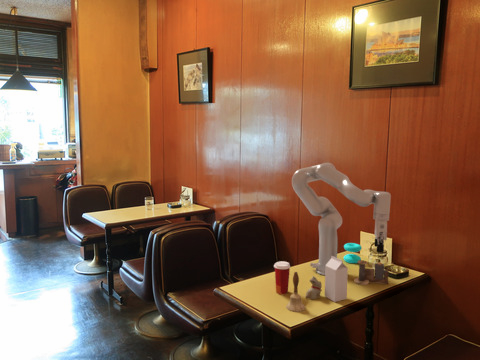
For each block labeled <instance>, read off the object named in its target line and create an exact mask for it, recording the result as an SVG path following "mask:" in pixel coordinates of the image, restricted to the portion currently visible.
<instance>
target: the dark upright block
mask: <svg viewBox="0 0 480 360" xmlns="http://www.w3.org/2000/svg"><path fill="white" fill-rule="evenodd" d="M374 270H375V272H374V276H375V279H384V270H385V265H384V263H382V262H379V261H378V262H375V264H374Z"/></svg>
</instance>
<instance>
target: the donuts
mask: <svg viewBox="0 0 480 360" xmlns="http://www.w3.org/2000/svg"><path fill="white" fill-rule="evenodd" d="M343 248H344V250H345V251H347V252H350V253H347V254H345V255H344V256H343V260H344V261H343V262H346V263H349V264H358V261H359V260H362V258H361V256H360V255H358V254H355V253H358V252H360V251H362V245H360V244H358V243H355V242H347V243H344V245H343Z"/></svg>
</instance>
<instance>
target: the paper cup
mask: <svg viewBox="0 0 480 360" xmlns="http://www.w3.org/2000/svg"><path fill="white" fill-rule="evenodd" d="M273 268H274V277H275V282H274V283H275V292H276V294H278V295H286V294H288V292H289V283H290V281H289V280H290V269H291V265H290V262H287V261H284V260H283V261H280V260H279V261H277V262H275V263H274V264H273Z"/></svg>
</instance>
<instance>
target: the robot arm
mask: <svg viewBox="0 0 480 360" xmlns="http://www.w3.org/2000/svg"><path fill="white" fill-rule="evenodd" d="M315 181H323V182H325V183H326V184H328V185H330V186H331V187H332V188H335V189H336V190H337V191H338V192H339V193H341V195H343V196H344V197H346V198H347V199H348V200H349V201H351V202H352V203H354V204H356V205H357V206H359V207H369V206H370V205H372V204H373V216H372V219H373V220H375V221H374V247H376V253H380V254H383V253H384V249H385V241H387V240H388V239H387V237H388V236H387V235H388V221H390V212H391V210H390V209H391V208H390V207H391V202H392V201H391V198H392V195H391V193H390V192H388V191H378V190H373V189H369V188H368V189H364V190H363V189H361V188H359V187H358V186H356V185H354V184H353V182H351V180H350V178H349V177H348V175H346V174H345V173H343V172H341V171H340V170H337V168H336V167H335V165H334V164H333V163H331V162H323V163H320V164H316V165H311V166H308V167H303V168H299V169H297V170H296V171H295V172H294V173H293V175H292V177H291V186H292V188H293V191H294V192H295V194H296V195H297V197H298V198H299V199H300V200H301V202H302V203H303V204H304V206H305V207H306V209H307V210H308V211H309V213H310V214H311V215H312V216H315V217H318V216H319V217H321V218H320V219H319V221H318V237H319V238H318V239H319V241H318V243H319V244H318V245H319V246H318V262H316V263H314V262H310V267H312V268H313V269H314V268H315V273H317V274H318V275H322V276H325V265H326V264H327V263H328V262H329V260H330V259H331V256H333V257H336V258H338V232H337V230H338V229H340V228H341V226H342V224H343V217H342V216H341V213H340V212H339V211H338V210H337V208H336V207H335V206H334V204H333V203H332V202H331V201H330V200H329V198H327V197H325V196H318V194H316V192H315V190H314V189H313V188H312V187H311V186H309V183H311V182H315Z"/></svg>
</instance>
